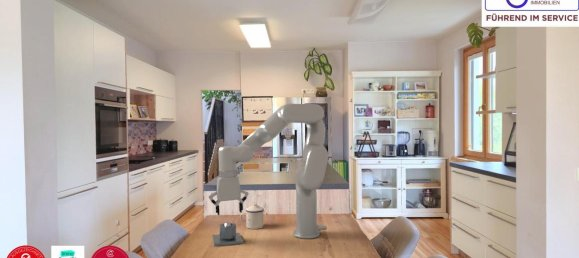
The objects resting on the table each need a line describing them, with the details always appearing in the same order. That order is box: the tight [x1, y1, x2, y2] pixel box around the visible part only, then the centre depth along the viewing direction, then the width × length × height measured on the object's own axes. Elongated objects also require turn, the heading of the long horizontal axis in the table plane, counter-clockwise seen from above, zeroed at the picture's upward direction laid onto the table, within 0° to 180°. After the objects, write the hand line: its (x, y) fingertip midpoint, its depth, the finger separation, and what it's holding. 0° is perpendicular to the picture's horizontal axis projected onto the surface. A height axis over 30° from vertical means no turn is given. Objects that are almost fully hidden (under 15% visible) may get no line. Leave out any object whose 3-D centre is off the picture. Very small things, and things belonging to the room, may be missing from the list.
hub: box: [219, 222, 237, 239], centre depth 144 cm, size 7×7×5 cm
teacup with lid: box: [239, 203, 265, 230], centre depth 165 cm, size 12×9×12 cm
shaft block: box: [212, 221, 244, 247], centre depth 144 cm, size 12×12×8 cm
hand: (229, 213), depth 145 cm, fingers open, 9 cm apart
